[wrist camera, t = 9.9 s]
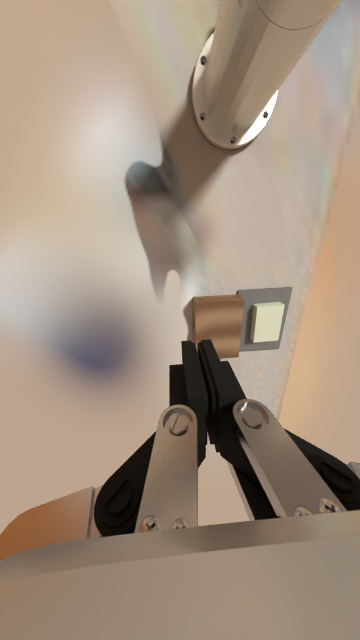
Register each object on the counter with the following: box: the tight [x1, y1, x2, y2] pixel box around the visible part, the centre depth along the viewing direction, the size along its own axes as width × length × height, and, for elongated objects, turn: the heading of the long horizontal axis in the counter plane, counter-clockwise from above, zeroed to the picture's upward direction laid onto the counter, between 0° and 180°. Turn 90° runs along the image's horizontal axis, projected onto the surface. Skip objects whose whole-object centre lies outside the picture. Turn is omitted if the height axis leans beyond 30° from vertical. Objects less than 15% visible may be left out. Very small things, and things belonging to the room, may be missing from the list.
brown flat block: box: [193, 295, 245, 359], centre depth 40 cm, size 14×10×4 cm
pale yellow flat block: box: [250, 302, 285, 343], centre depth 41 cm, size 9×6×2 cm, turn 4°
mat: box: [238, 287, 292, 352], centre depth 42 cm, size 16×12×1 cm
